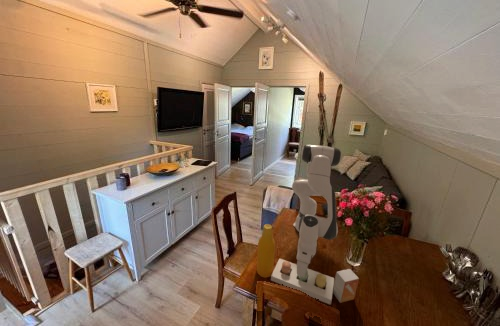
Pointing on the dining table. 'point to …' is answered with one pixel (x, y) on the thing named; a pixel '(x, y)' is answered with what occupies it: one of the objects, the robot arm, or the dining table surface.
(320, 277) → the mustard button
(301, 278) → the green button
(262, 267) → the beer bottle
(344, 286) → the small box
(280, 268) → the board
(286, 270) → the terracotta button
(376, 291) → the dining table surface
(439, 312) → the dining table surface
